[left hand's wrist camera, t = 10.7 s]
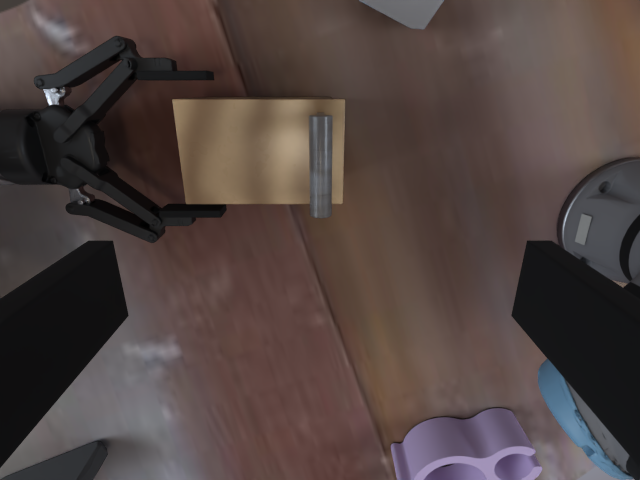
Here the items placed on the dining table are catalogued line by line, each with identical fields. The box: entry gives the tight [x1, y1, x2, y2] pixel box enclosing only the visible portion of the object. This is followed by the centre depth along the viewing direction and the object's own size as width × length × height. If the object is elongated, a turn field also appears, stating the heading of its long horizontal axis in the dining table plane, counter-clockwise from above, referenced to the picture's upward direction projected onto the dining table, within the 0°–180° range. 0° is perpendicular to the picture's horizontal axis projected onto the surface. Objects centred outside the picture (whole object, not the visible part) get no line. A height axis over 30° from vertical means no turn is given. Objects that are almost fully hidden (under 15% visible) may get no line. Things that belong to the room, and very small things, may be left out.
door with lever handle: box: [172, 99, 345, 218], centre depth 34 cm, size 16×10×9 cm, turn 90°
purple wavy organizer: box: [391, 408, 542, 480], centre depth 60 cm, size 20×12×7 cm, turn 116°
